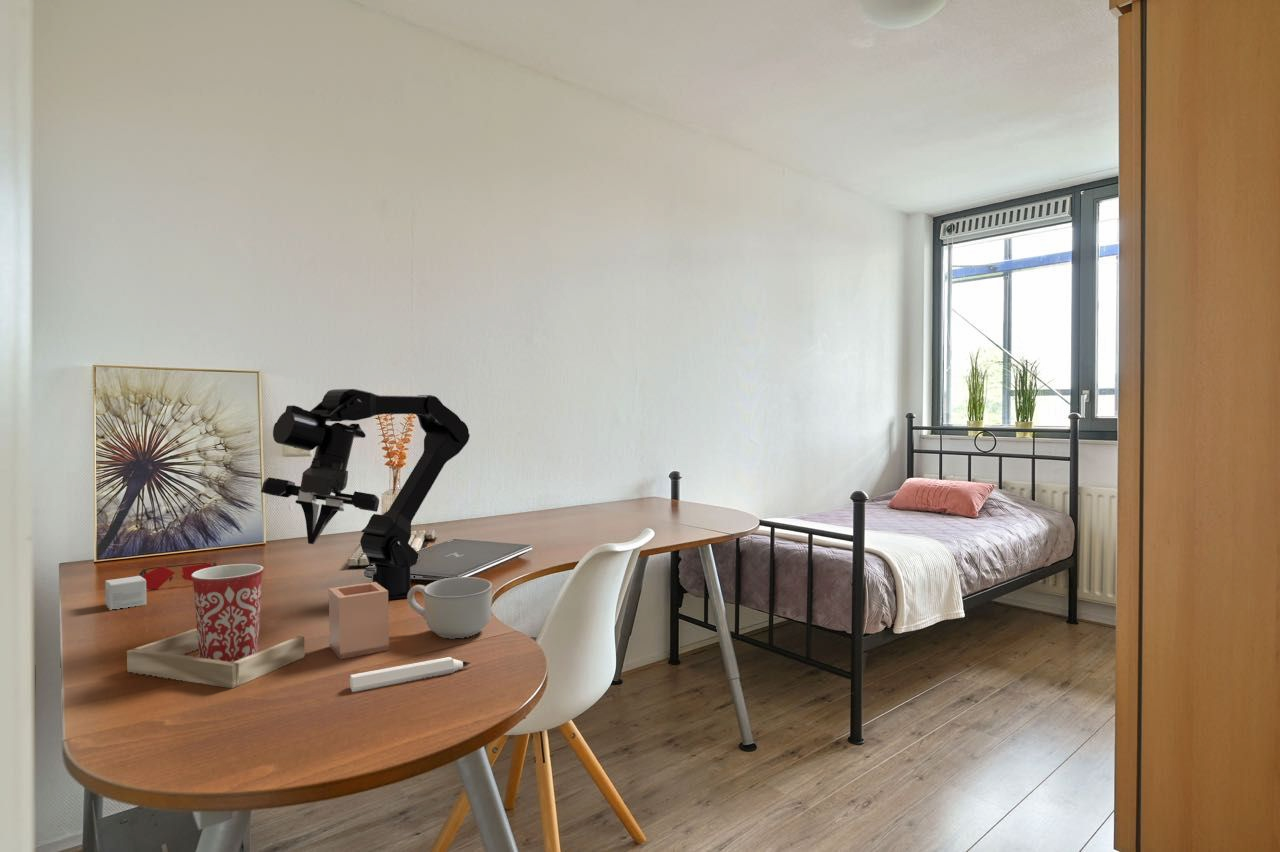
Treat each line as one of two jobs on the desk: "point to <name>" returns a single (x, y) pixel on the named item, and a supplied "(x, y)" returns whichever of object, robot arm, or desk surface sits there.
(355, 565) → the mechanical keyboard
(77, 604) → the desk surface
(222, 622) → the mug
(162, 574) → the glasses
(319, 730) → the desk surface
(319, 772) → the desk surface
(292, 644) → the bay
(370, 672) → the marker
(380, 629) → the terracotta pot
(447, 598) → the teacup
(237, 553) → the desk surface
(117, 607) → the small box
